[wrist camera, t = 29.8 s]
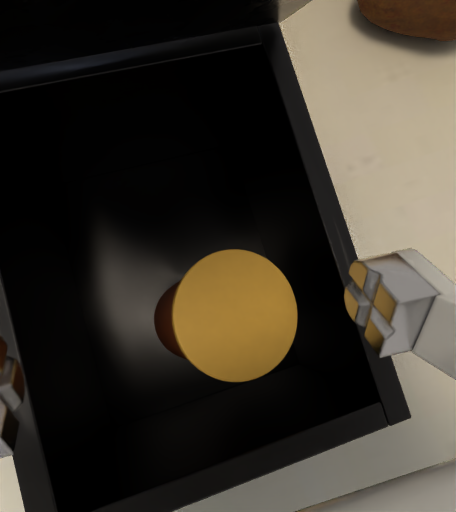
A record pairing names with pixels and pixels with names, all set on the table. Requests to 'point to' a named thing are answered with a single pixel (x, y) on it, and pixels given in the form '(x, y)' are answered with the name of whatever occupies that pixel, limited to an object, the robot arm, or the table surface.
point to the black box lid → (120, 25)
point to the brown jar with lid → (229, 316)
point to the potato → (413, 17)
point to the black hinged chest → (170, 273)
